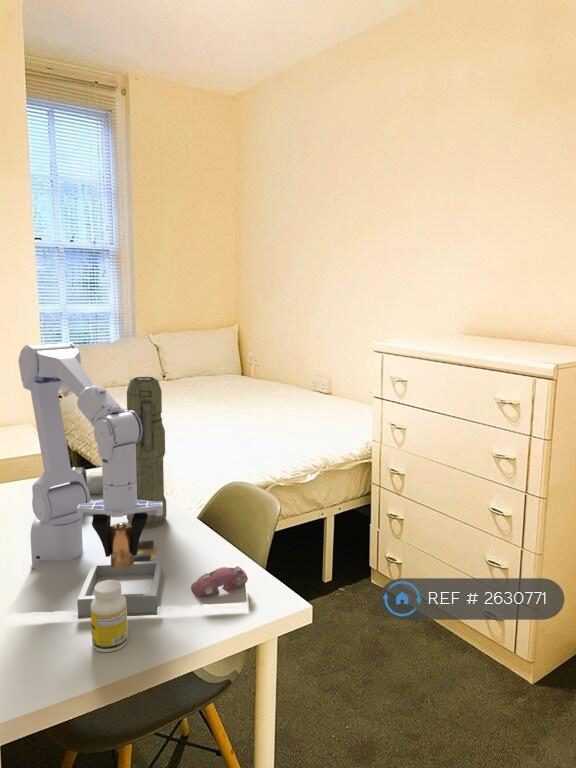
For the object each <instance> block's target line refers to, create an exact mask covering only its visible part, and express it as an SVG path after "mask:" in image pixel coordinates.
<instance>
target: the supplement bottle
mask: <svg viewBox="0 0 576 768" xmlns="http://www.w3.org/2000/svg"><path fill="white" fill-rule="evenodd" d="M93 588H94V589H93V590H94V594H93V596H95V598H94V599H93V600H92V602H91V618H90V622H91V623H90V624H91V637H92V638H91V639H92V646H93V648H94V649H95V650H96V651H97V652H100V653H111V652H115V651H116V652H117V651H118V650H120V649H122V648H123V647H124V646H126V644H127V642H128V640H129V639H128V638H129V633H128V632H129V631H128V629H129V628H128V616H127V604H126V598H125V596H124V595H123V594H122V583H121V581H118V580H116V579H106V580H102V581H100V582H98V583H97V584H96V583H95V585H94V587H93Z"/></svg>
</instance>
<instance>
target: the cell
mask: <svg viewBox="0 0 576 768" xmlns="http://www.w3.org/2000/svg"><path fill="white" fill-rule="evenodd" d="M132 546H133V535H132V525H131V524H130V523H128V522H125V521H121V522H117V523H115V524H111V526H110V552H111V555H110V563H111V567H112V568H114V569H126V568H129V567H131V566H133V565H134V556H133V555H132Z"/></svg>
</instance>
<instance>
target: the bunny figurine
mask: <svg viewBox="0 0 576 768" xmlns="http://www.w3.org/2000/svg"><path fill="white" fill-rule="evenodd" d="M87 488H88V490H89V493H90V495H103V477H102V471H92V472H89V474H88V475H87Z"/></svg>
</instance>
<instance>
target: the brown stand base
mask: <svg viewBox="0 0 576 768" xmlns="http://www.w3.org/2000/svg"><path fill="white" fill-rule="evenodd" d="M156 554H157V547H156V548H155V541H154V539H152V540H139V544H138V552H137V555H136V556H134V562H143V561H156V560H155V559H156Z"/></svg>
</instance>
